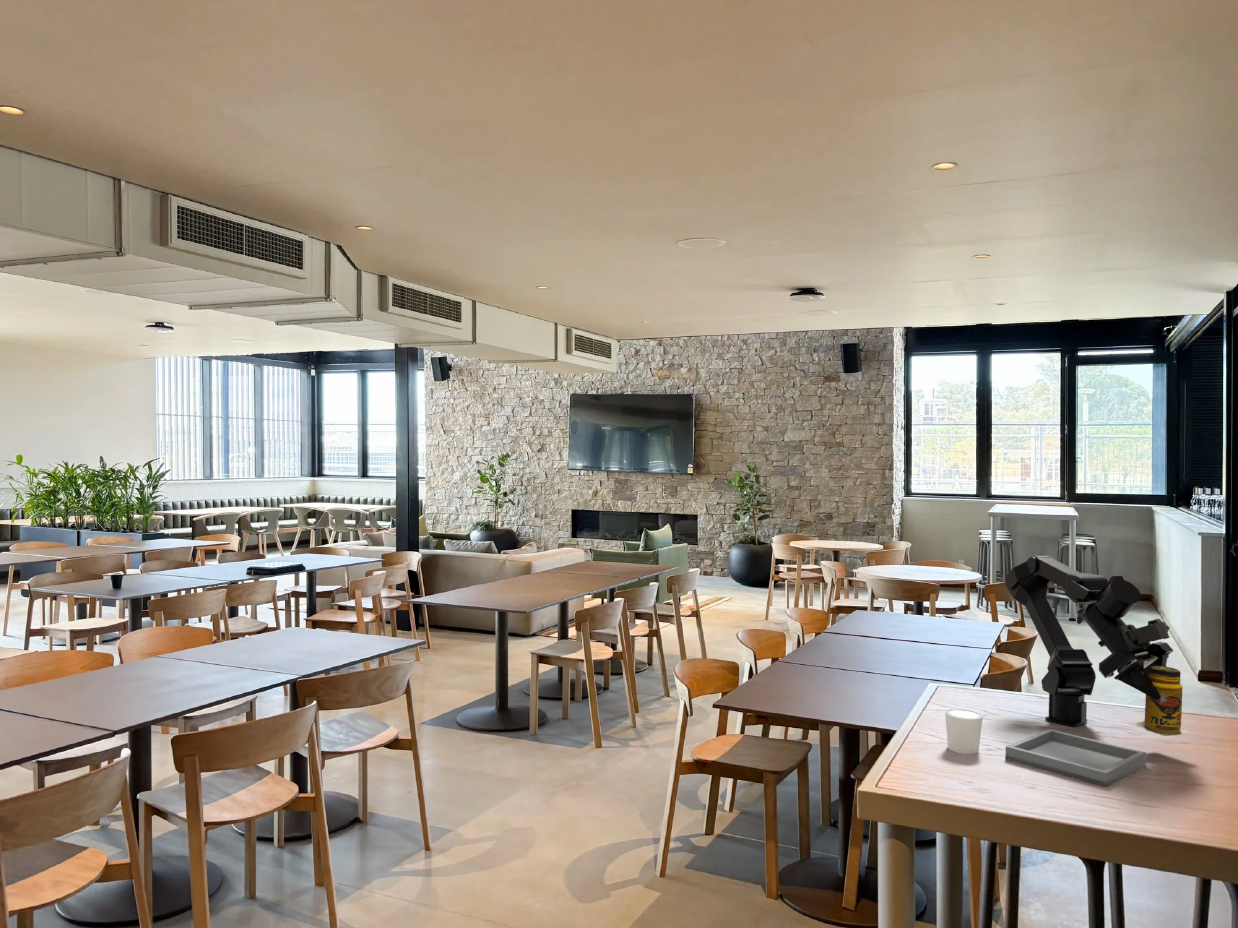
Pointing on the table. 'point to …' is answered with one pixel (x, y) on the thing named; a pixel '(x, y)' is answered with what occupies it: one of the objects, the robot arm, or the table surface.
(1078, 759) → the tray
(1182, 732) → the condiment
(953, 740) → the shot glass
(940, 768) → the table surface
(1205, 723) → the table surface
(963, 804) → the table surface
